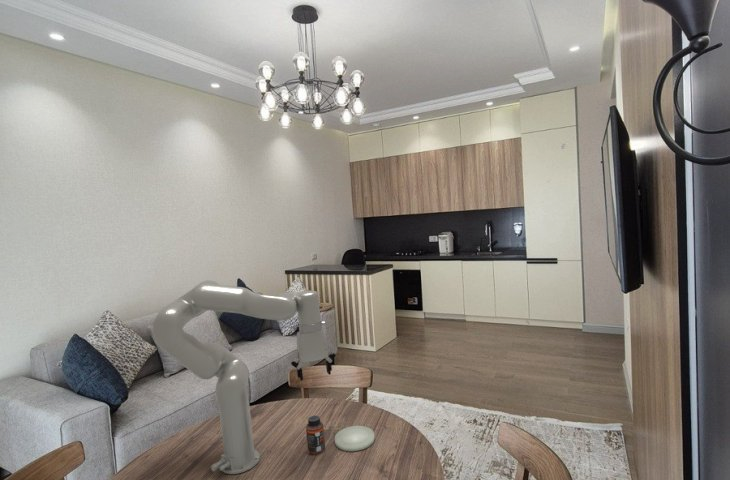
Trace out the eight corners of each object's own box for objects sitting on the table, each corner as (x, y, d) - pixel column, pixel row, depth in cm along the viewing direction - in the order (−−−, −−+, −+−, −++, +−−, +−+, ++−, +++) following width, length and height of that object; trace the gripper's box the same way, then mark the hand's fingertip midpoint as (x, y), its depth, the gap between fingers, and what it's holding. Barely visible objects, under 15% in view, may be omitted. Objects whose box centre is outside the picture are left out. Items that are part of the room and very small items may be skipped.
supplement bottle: (324, 454, 134) (321, 422, 133) (306, 456, 134) (303, 423, 133) (326, 444, 140) (323, 413, 139) (309, 445, 140) (306, 414, 139)
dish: (358, 456, 131) (357, 451, 131) (326, 444, 140) (326, 440, 140) (382, 435, 142) (381, 431, 142) (351, 426, 151) (351, 422, 151)
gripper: (332, 320, 142) (336, 367, 143) (283, 329, 137) (288, 377, 138) (337, 325, 135) (342, 374, 136) (286, 334, 130) (291, 385, 131)
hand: (315, 376), depth 137 cm, fingers open, 9 cm apart
